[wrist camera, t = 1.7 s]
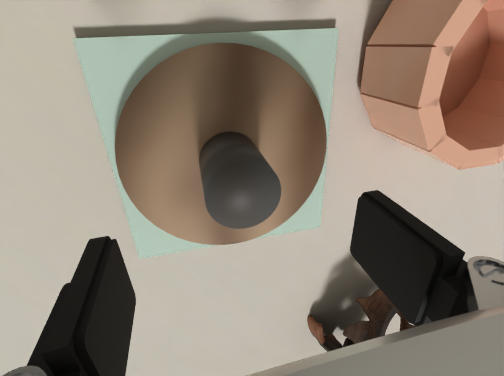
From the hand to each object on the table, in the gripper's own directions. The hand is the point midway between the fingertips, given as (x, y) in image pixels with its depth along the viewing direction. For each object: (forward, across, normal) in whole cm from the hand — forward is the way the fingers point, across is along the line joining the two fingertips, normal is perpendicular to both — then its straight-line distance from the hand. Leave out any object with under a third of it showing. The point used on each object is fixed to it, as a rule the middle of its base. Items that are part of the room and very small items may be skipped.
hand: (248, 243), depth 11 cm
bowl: (+10, -16, -5) cm, 19 cm away
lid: (+10, -1, 0) cm, 10 cm away
